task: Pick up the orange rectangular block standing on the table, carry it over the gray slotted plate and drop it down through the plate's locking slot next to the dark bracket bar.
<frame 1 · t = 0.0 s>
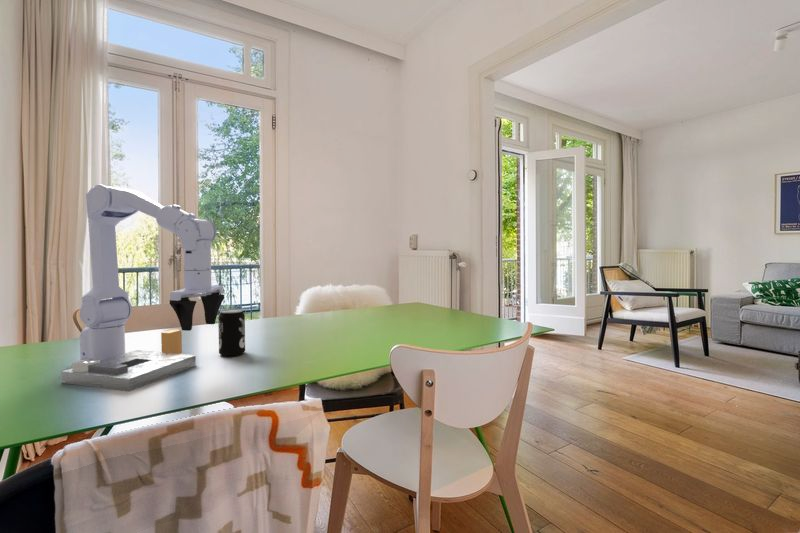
hand: (199, 326, 94), 10 cm above the table, fingers open, 7 cm apart
beverage can: (232, 355, 108), on the table
orange rectangular block: (172, 357, 104), on the table
gray slotted plate: (133, 373, 91), on the table
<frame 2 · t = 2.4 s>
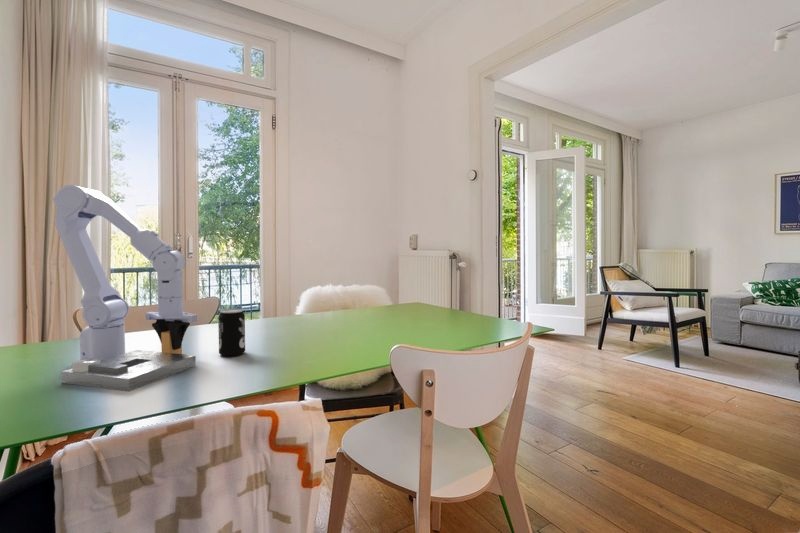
hand: (171, 348, 104), 2 cm above the table, fingers closed on orange rectangular block, 2 cm apart
orange rectangular block: (172, 357, 104), on the table, touching gripper
everything else where it was.
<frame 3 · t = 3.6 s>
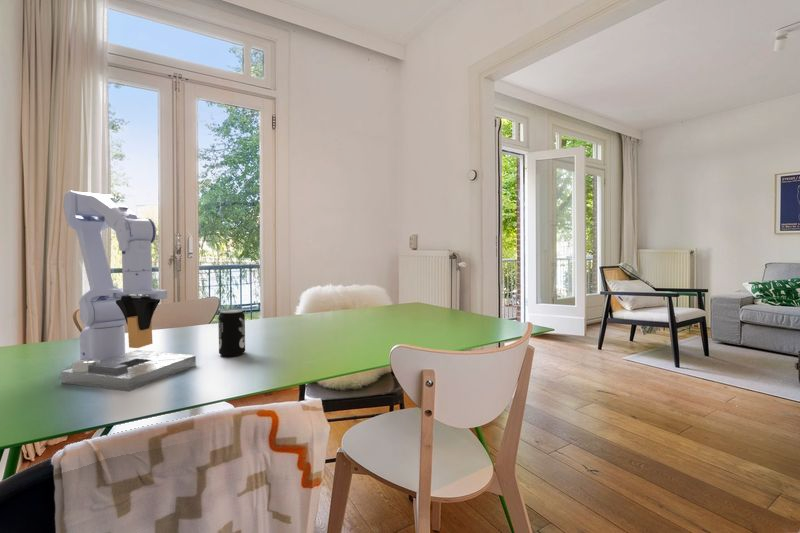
hand: (139, 328, 92), 10 cm above the table, fingers closed on orange rectangular block, 2 cm apart
orange rectangular block: (141, 345, 93), point 6 cm above the table, touching gripper
everything else where it was.
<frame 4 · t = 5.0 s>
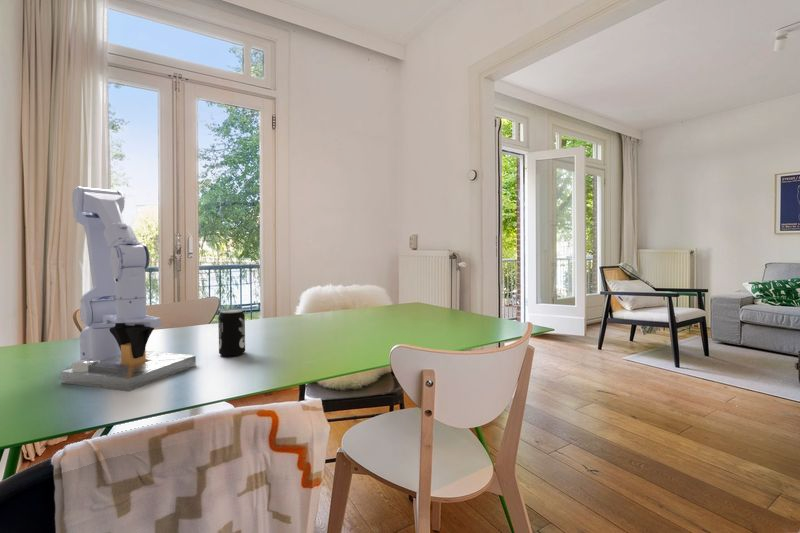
hand: (133, 356, 91), 4 cm above the table, fingers closed on orange rectangular block, 2 cm apart
orange rectangular block: (134, 373, 91), resting in gray slotted plate, touching gripper
everything else where it was.
when the fingers open (4 cm above the table, at t = 5.2 s): orange rectangular block stays where it is, resting in gray slotted plate.
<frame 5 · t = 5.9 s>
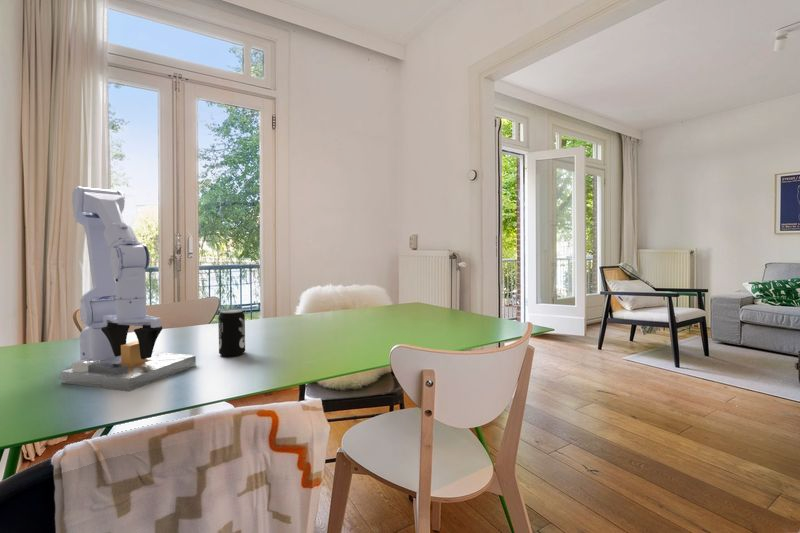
hand: (133, 356, 91), 4 cm above the table, fingers open, 7 cm apart
orange rectangular block: (134, 373, 91), resting in gray slotted plate
everything else where it was.
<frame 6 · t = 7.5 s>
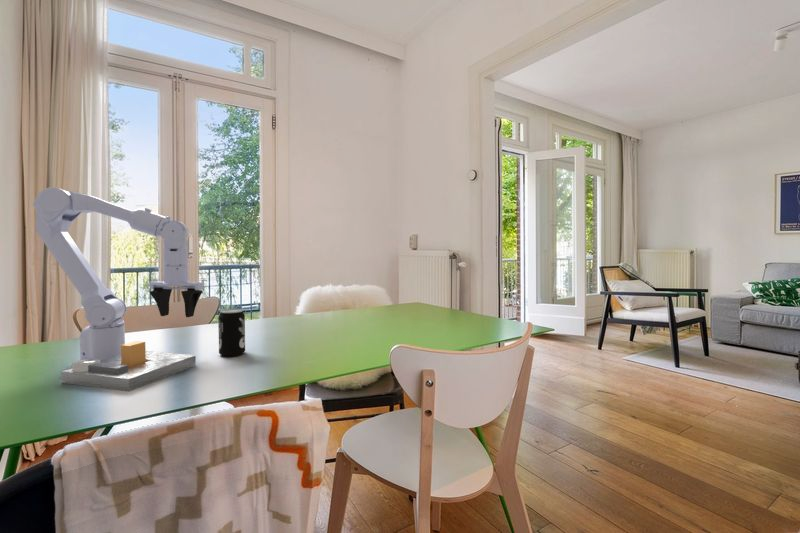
hand: (177, 316, 107), 10 cm above the table, fingers open, 7 cm apart
nothing on the table moved.
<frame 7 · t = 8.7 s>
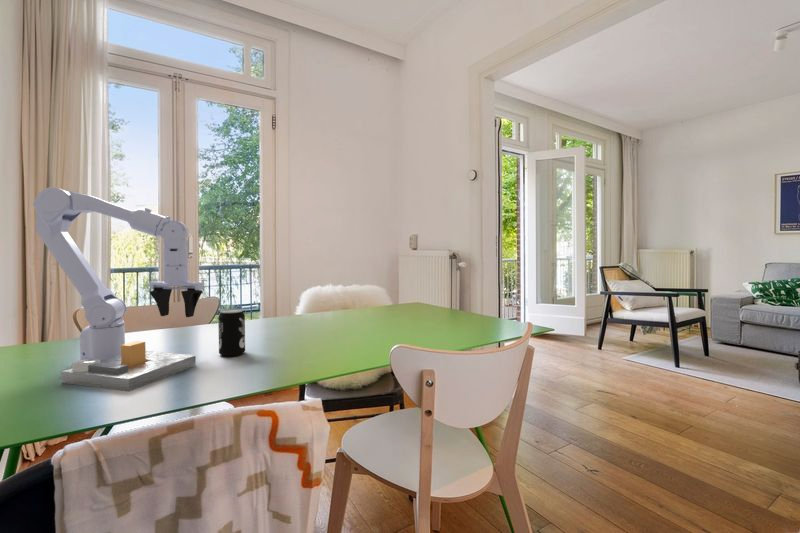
hand: (177, 316, 107), 10 cm above the table, fingers open, 7 cm apart
nothing on the table moved.
at the end: orange rectangular block 0.1 cm off-centre on the gray slotted plate, point 0.0 cm above the gray slotted plate's base; orange rectangular block tilted 0°; the gripper is holding nothing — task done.
